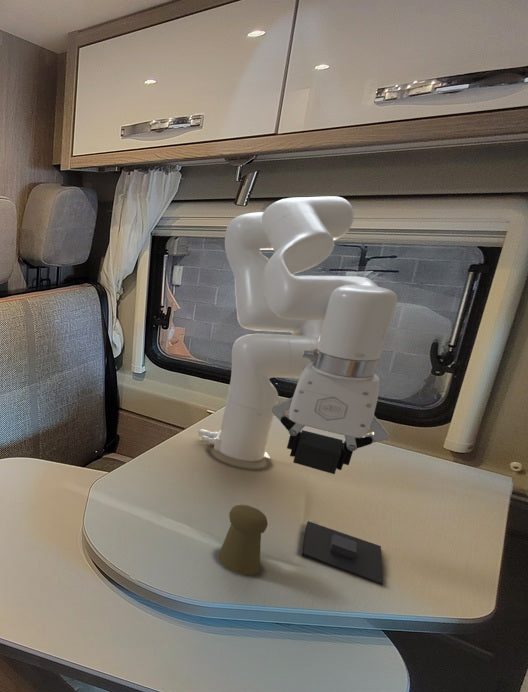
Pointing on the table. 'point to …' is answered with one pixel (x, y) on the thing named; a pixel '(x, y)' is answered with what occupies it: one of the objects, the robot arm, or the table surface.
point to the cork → (243, 540)
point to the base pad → (340, 562)
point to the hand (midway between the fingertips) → (315, 458)
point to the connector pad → (318, 452)
